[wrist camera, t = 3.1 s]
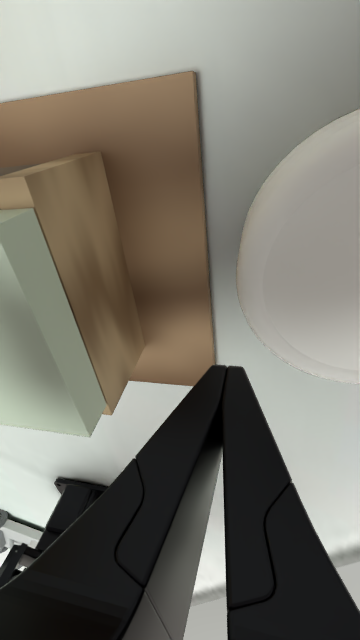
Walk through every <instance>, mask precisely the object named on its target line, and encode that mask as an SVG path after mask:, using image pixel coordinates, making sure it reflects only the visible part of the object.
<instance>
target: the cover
mask: <svg viewBox="0 0 360 640" xmlns="http://www.w3.org/2000/svg"><path fill="white" fill-rule="evenodd" d="M105 407H106V402H105V400H104V397H103V394H102V392H101V389H100V386H99V384H98V381H97V378H96V375H95V373H94V370H93V367H92V365H91V362H90V359H89V357H88V354H87V351H86V349H85V346H84V343H83V341H82V338H81V335H80V333H79V330H78V327H77V325H76V322H75V319H74V316H73V314H72V311H71V308H70V306H69V303H68V300H67V298H66V295H65V292H64V290H63V287H62V284H61V282H60V279H59V276H58V274H57V271H56V268H55V266H54V263H53V260H52V257H51V255H50V252H49V249H48V247H47V244H46V241H45V239H44V236H43V233H42V231H41V228H40V225H39V223H38V220H37V217H36V215H35V212H34V209H33V208H24V209H9V210H0V425H6V426H14V427H21V428H28V429H35V430H42V431H49V432H56V433H63V434H70V435H77V436H84V437H90V436H91V435H92V433H93V431H94V429H95V427H96V425H97V423H98V421H99V419H100V417H101V415H102V413H103V411H104V409H105Z"/></svg>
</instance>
